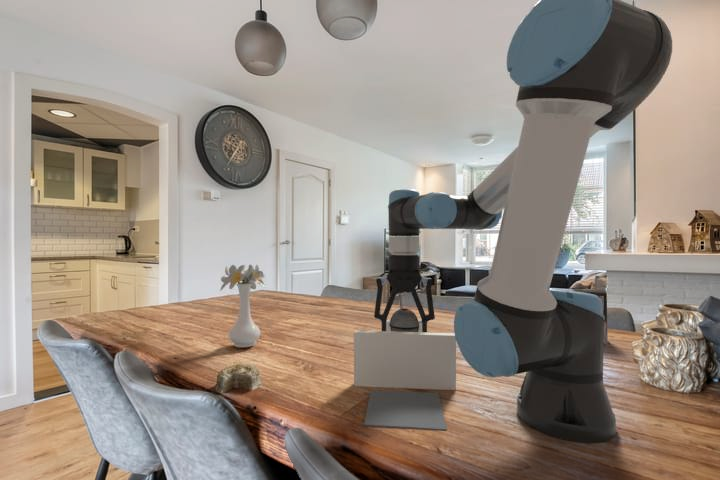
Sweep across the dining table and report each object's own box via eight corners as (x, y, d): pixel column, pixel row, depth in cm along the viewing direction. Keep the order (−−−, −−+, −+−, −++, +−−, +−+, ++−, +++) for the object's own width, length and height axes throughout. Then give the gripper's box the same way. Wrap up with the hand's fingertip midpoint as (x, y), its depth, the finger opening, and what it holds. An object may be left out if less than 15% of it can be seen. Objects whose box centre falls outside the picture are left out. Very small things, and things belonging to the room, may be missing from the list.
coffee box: (606, 339, 115) (606, 289, 115) (607, 344, 110) (607, 292, 110) (573, 335, 120) (573, 287, 120) (573, 340, 115) (573, 290, 115)
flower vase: (263, 334, 122) (263, 261, 121) (266, 351, 104) (266, 265, 104) (222, 338, 118) (222, 262, 117) (219, 355, 100) (218, 266, 100)
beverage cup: (418, 379, 83) (418, 293, 83) (387, 376, 85) (387, 292, 84) (419, 368, 90) (420, 289, 90) (390, 366, 92) (391, 288, 92)
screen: (454, 387, 78) (454, 333, 78) (456, 391, 76) (456, 335, 76) (355, 383, 81) (355, 330, 81) (353, 386, 79) (353, 332, 79)
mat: (438, 397, 74) (438, 393, 74) (446, 433, 60) (446, 429, 60) (370, 393, 75) (370, 389, 75) (363, 428, 62) (363, 424, 62)
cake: (214, 382, 82) (214, 359, 82) (259, 376, 86) (259, 353, 86) (214, 400, 73) (214, 374, 73) (264, 392, 77) (264, 367, 77)
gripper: (444, 253, 90) (444, 344, 90) (364, 253, 92) (364, 341, 92) (448, 254, 82) (448, 354, 82) (361, 254, 85) (361, 350, 85)
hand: (404, 347), depth 87 cm, fingers closed on beverage cup, 7 cm apart
